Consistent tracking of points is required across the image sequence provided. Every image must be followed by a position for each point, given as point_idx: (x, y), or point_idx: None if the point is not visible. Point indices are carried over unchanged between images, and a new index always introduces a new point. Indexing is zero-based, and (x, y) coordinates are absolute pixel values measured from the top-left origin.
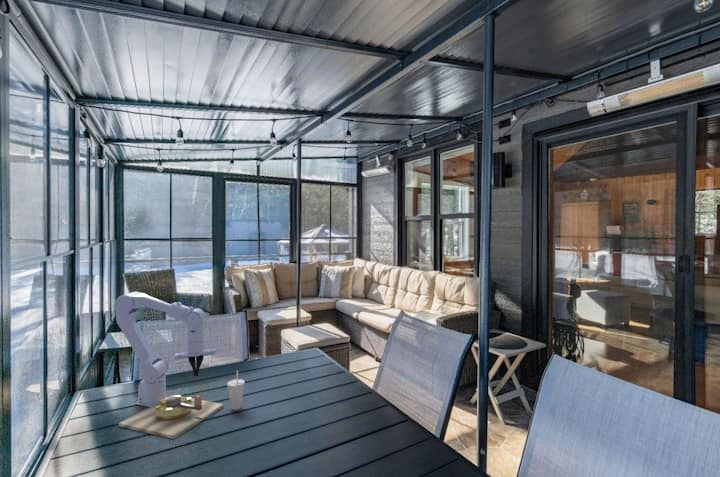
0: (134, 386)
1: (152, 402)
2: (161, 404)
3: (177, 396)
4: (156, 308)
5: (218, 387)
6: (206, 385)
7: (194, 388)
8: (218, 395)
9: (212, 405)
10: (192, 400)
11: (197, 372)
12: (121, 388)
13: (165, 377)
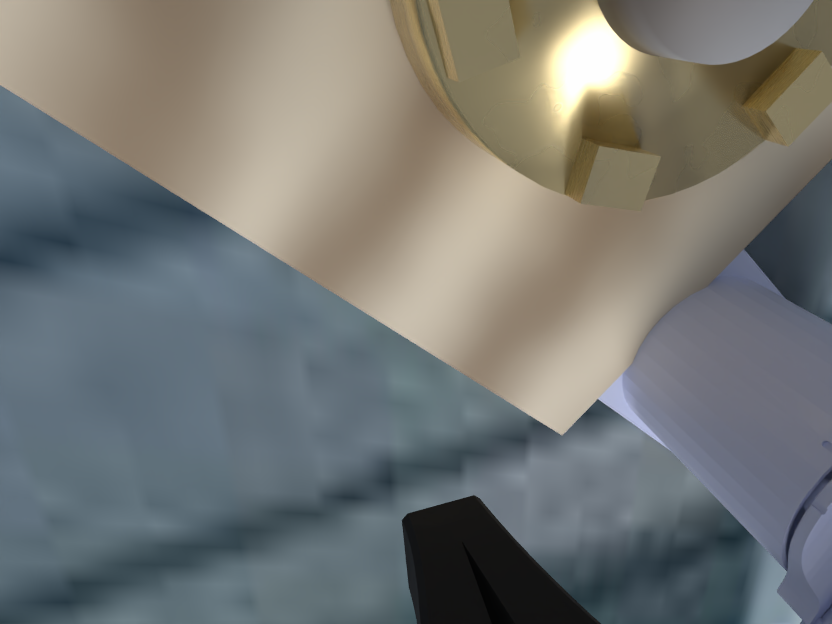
0: (750, 596)
1: (754, 286)
2: (808, 13)
3: (674, 44)
4: None
5: (136, 577)
6: (274, 613)
7: (379, 564)
8: (86, 400)
9: (67, 8)
10: (387, 272)
11: (440, 569)
12: None
13: (809, 536)
